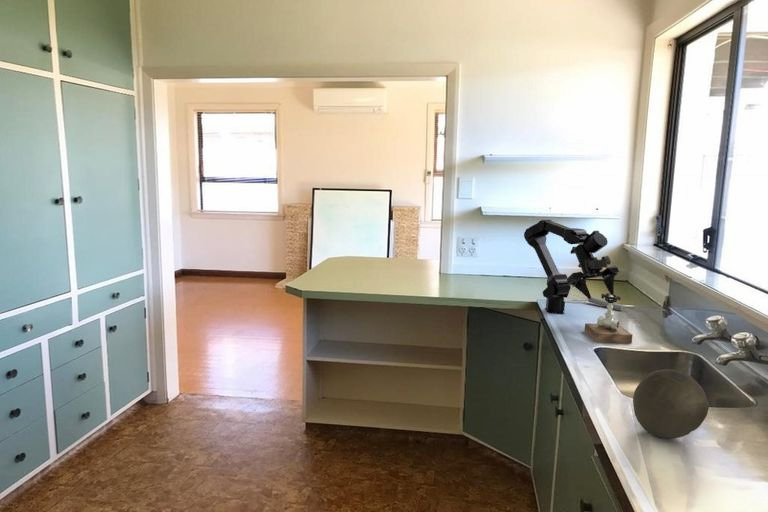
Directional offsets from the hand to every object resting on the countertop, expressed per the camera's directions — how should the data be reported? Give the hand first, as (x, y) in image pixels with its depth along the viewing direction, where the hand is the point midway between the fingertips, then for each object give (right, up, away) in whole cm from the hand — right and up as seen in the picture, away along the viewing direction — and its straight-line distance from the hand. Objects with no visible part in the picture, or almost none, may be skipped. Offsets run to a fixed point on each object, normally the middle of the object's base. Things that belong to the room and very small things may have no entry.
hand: (601, 296), depth 196 cm
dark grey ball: (-17, -25, -77) cm, 83 cm away
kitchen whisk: (+10, -6, +40) cm, 42 cm away
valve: (-1, -11, -8) cm, 13 cm away
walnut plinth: (-1, -14, -8) cm, 16 cm away
